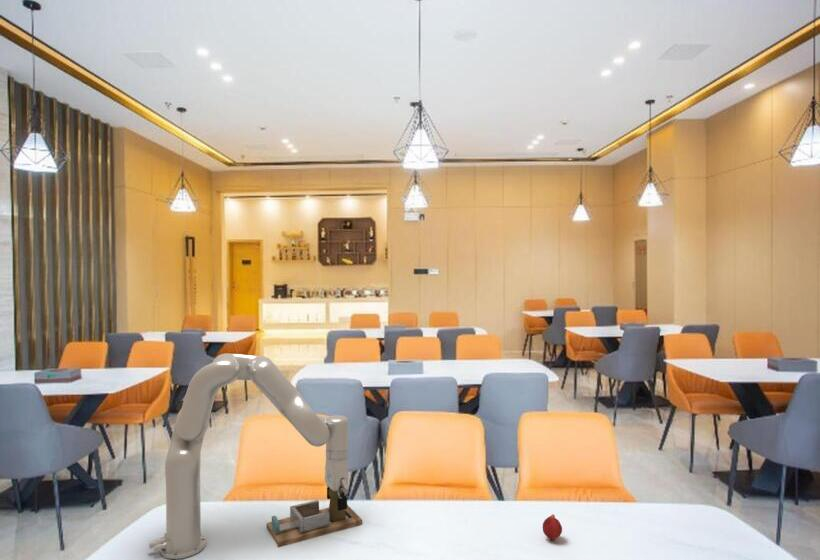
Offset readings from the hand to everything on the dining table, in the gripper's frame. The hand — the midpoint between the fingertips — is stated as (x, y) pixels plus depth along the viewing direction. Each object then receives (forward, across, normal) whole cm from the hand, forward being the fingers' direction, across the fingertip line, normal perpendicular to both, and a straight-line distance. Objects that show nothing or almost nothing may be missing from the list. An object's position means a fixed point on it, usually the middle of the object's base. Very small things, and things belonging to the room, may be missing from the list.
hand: (336, 503), depth 171 cm
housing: (+4, 0, -13) cm, 14 cm away
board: (+6, 0, -8) cm, 10 cm away
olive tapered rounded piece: (+5, 0, 0) cm, 5 cm away
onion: (+5, +46, +53) cm, 71 cm away
